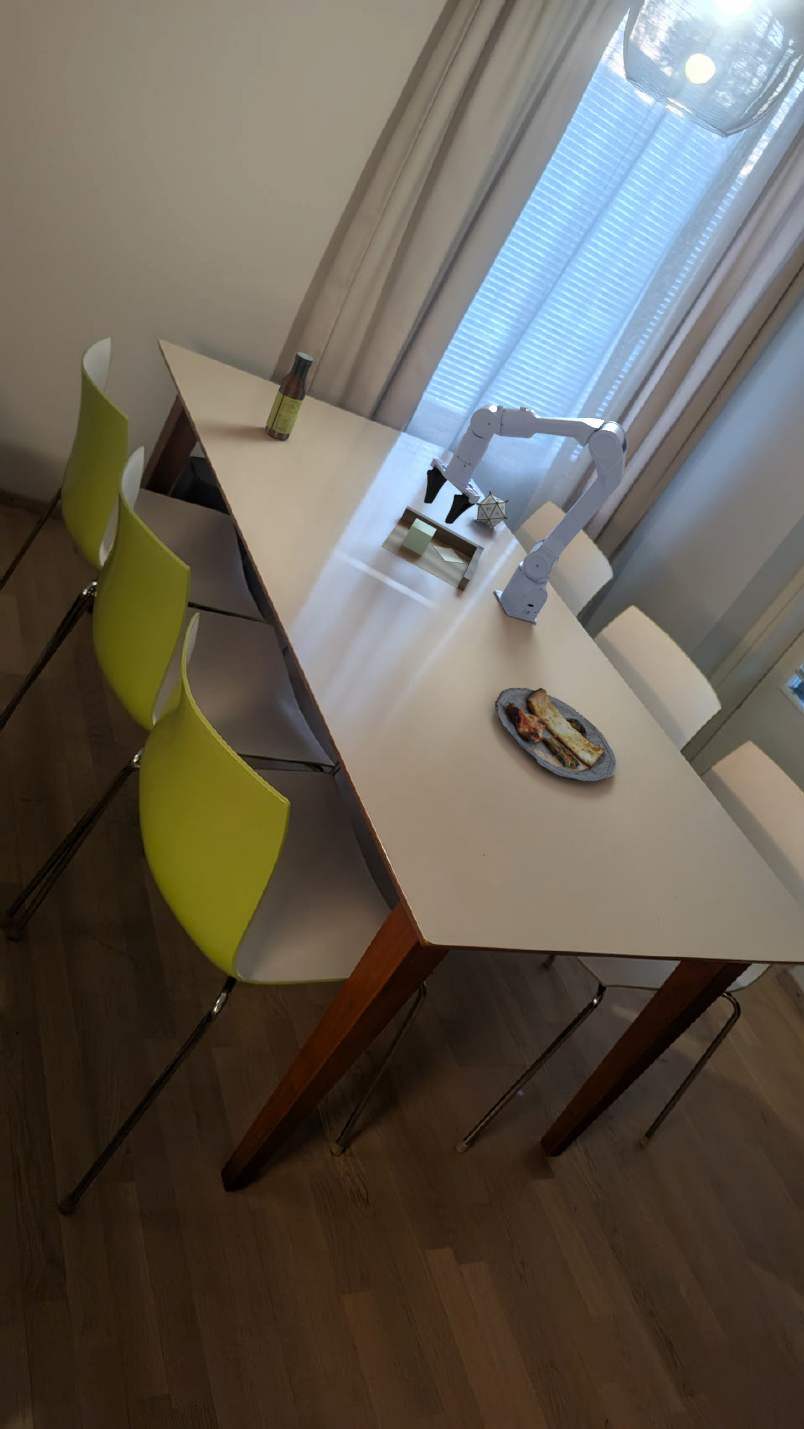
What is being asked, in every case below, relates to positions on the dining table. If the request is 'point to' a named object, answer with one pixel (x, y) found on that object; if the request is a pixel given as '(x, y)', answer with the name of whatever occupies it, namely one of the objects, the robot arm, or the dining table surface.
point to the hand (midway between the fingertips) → (437, 512)
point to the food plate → (555, 733)
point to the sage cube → (419, 536)
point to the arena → (437, 550)
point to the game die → (491, 510)
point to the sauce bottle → (289, 399)
